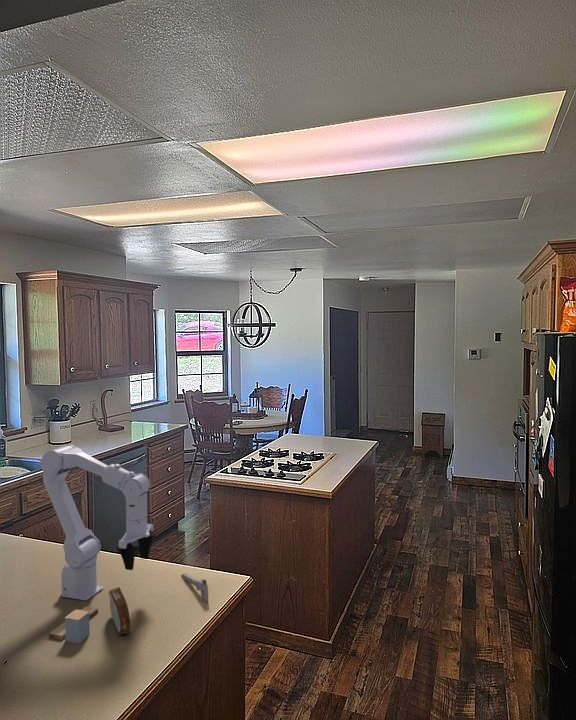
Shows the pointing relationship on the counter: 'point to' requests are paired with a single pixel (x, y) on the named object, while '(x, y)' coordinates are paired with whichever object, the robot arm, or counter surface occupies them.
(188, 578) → the caliper
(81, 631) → the tan grey block
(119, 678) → the counter surface
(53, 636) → the board
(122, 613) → the tin
